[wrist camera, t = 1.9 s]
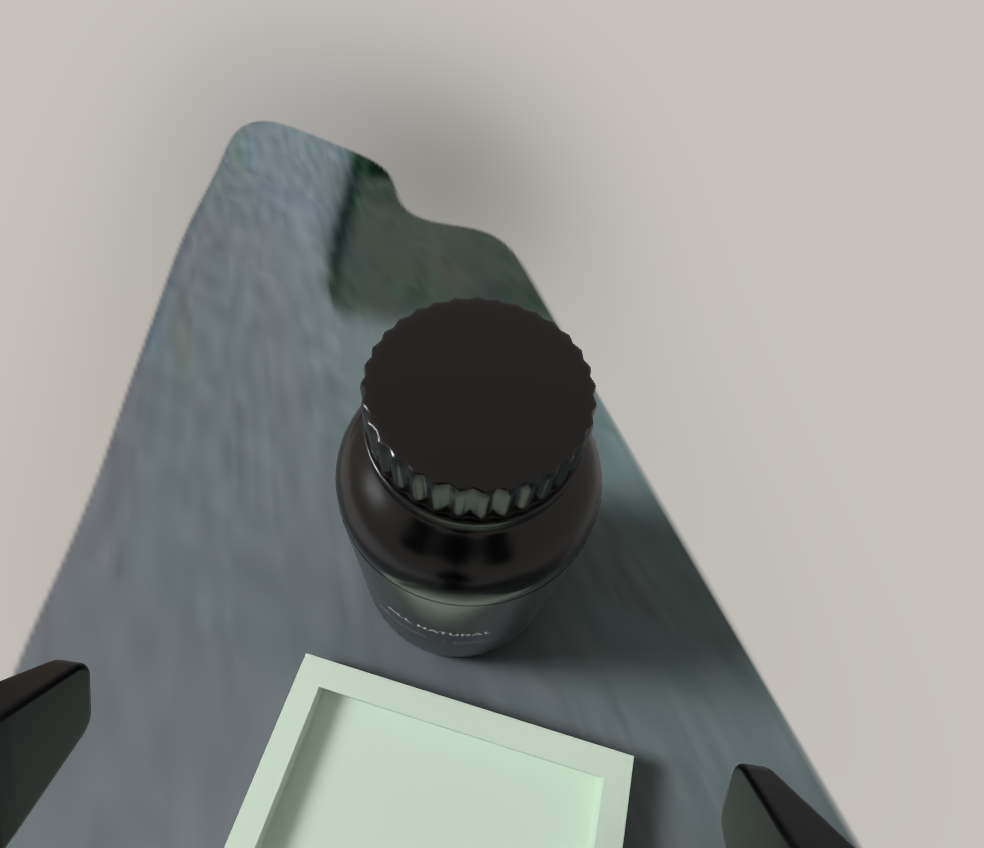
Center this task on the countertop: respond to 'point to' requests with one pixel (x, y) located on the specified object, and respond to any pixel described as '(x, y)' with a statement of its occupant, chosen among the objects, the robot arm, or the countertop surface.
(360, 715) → the sage tray
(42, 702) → the robot arm
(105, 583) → the countertop surface
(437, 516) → the supplement bottle
